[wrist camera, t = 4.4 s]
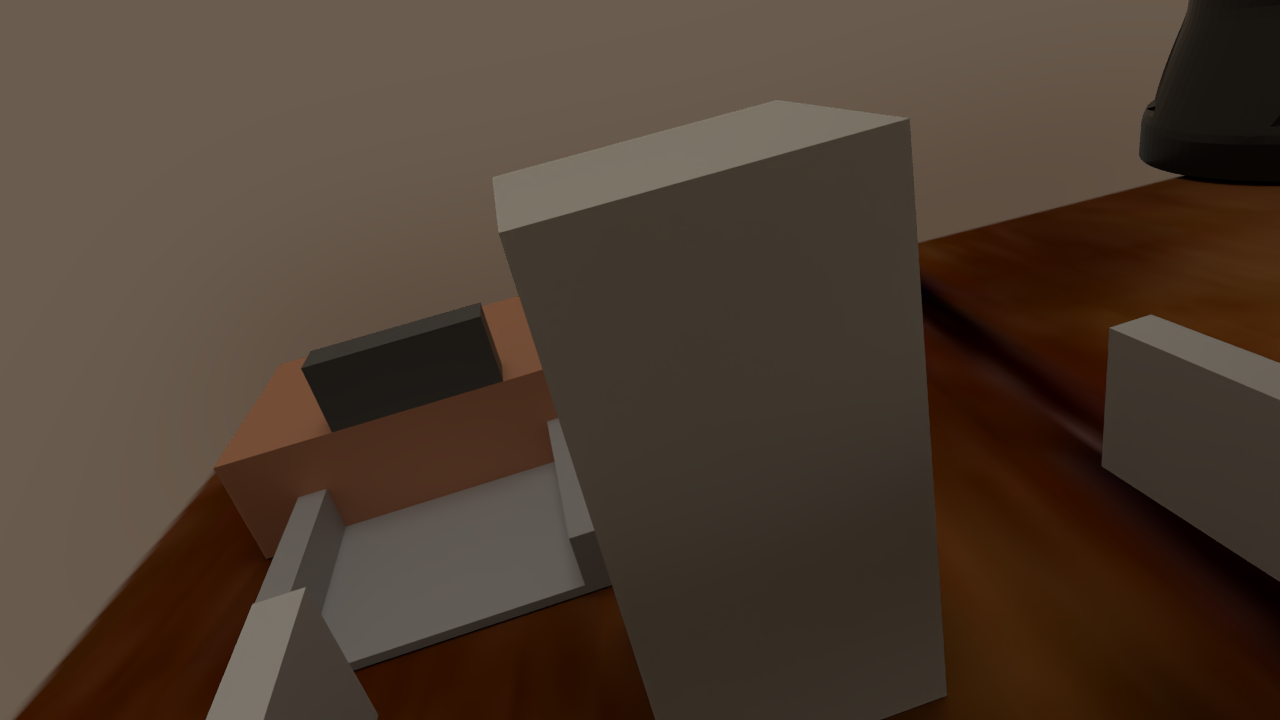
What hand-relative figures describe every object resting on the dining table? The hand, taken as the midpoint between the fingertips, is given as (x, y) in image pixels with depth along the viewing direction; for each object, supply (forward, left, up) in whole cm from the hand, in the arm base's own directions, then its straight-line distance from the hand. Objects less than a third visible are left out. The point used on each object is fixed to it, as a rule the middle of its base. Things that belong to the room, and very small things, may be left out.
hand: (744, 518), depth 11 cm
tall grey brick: (-1, -3, -7) cm, 7 cm away
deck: (+3, -15, -7) cm, 17 cm away
